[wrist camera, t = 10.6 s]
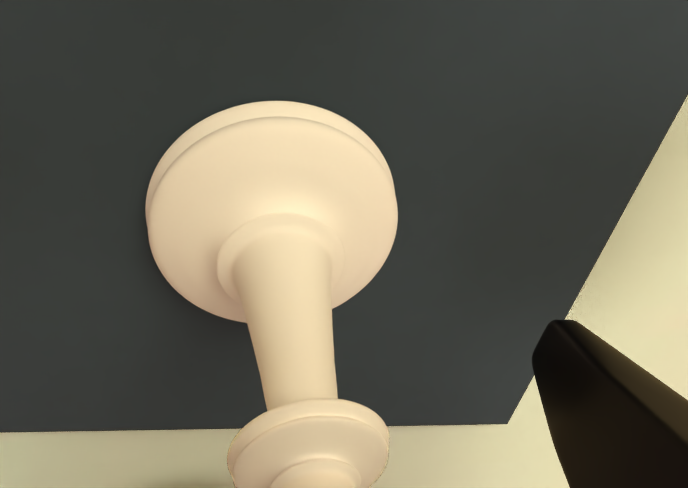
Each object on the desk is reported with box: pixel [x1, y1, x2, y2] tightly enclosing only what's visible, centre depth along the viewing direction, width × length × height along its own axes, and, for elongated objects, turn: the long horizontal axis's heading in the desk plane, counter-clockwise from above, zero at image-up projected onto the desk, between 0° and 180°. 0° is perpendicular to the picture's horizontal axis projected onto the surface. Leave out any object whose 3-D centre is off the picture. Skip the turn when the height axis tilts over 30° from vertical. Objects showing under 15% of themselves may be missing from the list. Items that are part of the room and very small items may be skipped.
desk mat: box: [0, 0, 688, 432], centre depth 11 cm, size 20×14×1 cm
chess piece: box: [145, 101, 398, 488], centre depth 9 cm, size 5×5×10 cm
